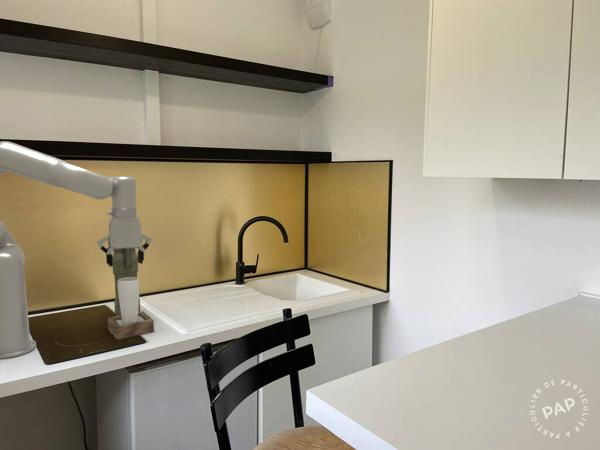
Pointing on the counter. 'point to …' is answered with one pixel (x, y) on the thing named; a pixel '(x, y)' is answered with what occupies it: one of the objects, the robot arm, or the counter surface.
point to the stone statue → (124, 270)
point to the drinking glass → (129, 299)
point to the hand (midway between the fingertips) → (125, 264)
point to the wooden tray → (130, 326)
